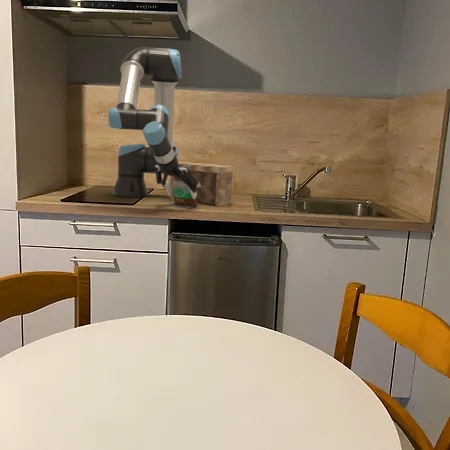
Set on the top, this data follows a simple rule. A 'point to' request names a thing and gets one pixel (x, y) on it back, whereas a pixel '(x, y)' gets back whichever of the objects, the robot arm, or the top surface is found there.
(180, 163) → the open oak shelf box
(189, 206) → the grey mat
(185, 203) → the food container
